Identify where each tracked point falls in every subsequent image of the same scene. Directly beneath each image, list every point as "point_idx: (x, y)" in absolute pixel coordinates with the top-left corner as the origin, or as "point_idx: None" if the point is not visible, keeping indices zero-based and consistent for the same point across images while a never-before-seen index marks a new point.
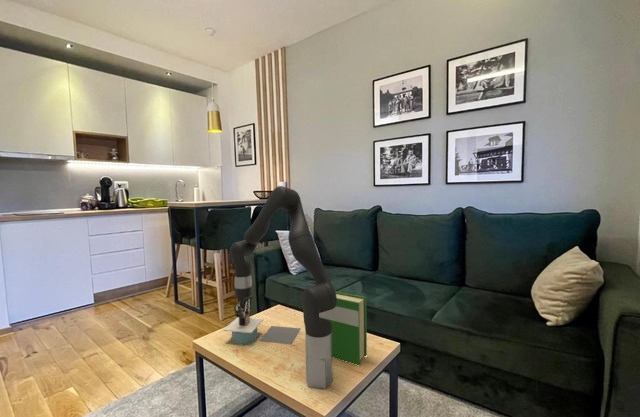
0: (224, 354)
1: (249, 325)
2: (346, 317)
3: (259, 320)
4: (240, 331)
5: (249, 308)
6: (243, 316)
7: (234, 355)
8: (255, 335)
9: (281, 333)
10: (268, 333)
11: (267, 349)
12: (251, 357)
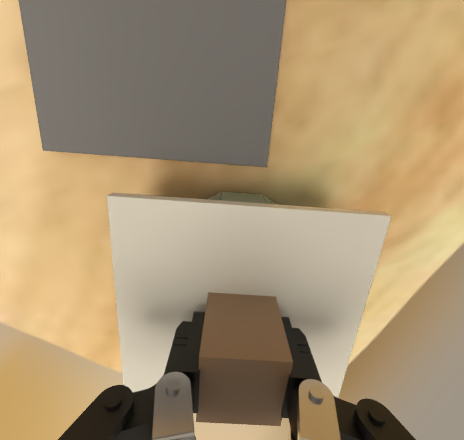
0: (391, 296)
1: (264, 275)
2: None
3: (152, 224)
4: (361, 304)
5: (129, 418)
6: (330, 394)
7: (406, 248)
8: (254, 202)
9: (137, 26)
10: (157, 136)
11: (357, 76)
12: (440, 150)
